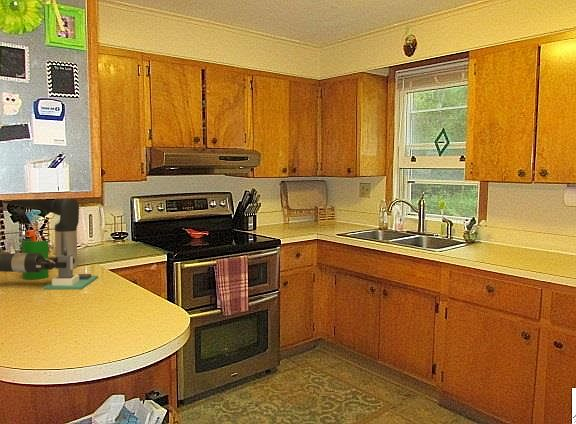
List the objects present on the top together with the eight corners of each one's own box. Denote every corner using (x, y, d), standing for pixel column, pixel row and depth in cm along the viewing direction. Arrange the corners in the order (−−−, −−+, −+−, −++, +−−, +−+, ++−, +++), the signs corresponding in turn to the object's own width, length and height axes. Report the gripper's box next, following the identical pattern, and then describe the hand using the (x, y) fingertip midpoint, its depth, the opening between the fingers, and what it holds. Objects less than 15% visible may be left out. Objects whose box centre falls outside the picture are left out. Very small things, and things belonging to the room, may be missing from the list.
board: (63, 277, 203) (63, 269, 202) (98, 277, 204) (97, 269, 203) (43, 289, 183) (43, 280, 182) (81, 289, 184) (81, 280, 183)
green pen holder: (52, 275, 206) (52, 229, 205) (40, 280, 198) (39, 231, 196) (30, 274, 207) (29, 228, 206) (17, 279, 199) (15, 230, 197)
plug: (62, 281, 191) (61, 247, 190) (74, 282, 191) (73, 247, 190) (58, 284, 187) (57, 248, 186) (70, 284, 187) (70, 248, 186)
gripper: (18, 256, 180) (63, 256, 181) (35, 250, 194) (77, 250, 195) (19, 276, 180) (63, 276, 182) (35, 268, 195) (77, 268, 196)
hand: (70, 263), depth 189 cm, fingers open, 8 cm apart
